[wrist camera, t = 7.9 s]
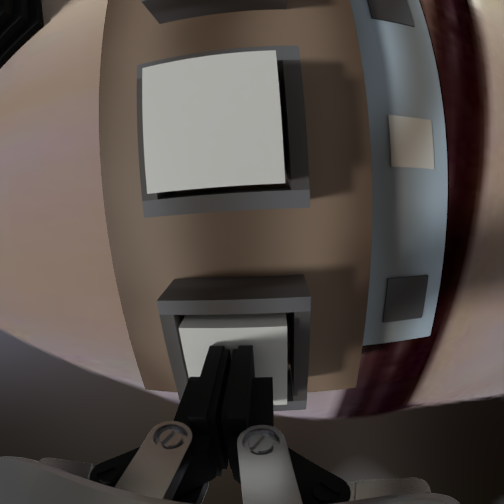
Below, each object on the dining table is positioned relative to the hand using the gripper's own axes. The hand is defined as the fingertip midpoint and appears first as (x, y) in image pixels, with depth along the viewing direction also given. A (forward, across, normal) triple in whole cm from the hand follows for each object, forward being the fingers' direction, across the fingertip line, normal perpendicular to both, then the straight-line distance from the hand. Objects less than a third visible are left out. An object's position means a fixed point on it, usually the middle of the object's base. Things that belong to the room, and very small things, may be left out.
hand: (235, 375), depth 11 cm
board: (+6, -3, -9) cm, 11 cm away
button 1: (+2, 0, 0) cm, 2 cm away
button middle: (+1, 0, -9) cm, 9 cm away
